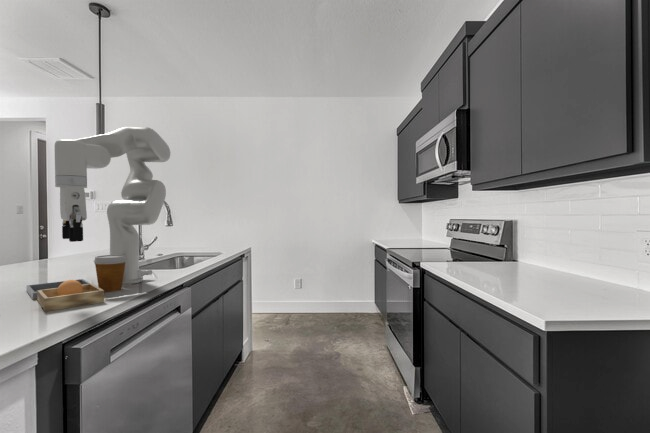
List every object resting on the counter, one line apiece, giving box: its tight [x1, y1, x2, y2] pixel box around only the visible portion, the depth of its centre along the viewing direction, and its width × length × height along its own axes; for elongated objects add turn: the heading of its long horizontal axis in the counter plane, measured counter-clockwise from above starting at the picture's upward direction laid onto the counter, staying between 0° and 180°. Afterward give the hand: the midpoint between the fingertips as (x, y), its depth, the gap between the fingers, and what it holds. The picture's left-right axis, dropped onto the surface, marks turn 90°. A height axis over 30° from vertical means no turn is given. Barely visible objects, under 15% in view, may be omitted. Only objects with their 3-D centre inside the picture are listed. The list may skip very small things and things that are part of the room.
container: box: [26, 278, 92, 301], centre depth 108 cm, size 15×15×2 cm
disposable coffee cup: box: [93, 254, 127, 293], centre depth 111 cm, size 10×10×12 cm
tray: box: [36, 283, 105, 312], centre depth 97 cm, size 14×14×4 cm
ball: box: [57, 279, 83, 296], centre depth 97 cm, size 6×6×6 cm
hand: (72, 239), depth 98 cm, fingers open, 9 cm apart
